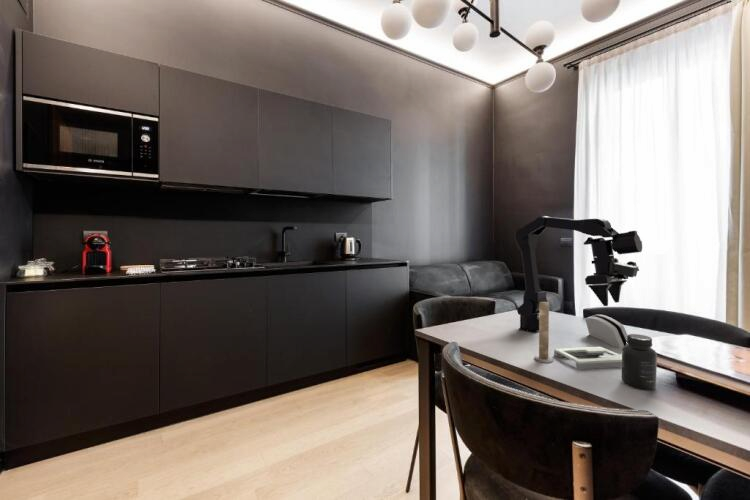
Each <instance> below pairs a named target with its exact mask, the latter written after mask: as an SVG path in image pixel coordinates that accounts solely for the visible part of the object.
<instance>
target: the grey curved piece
mask: <svg viewBox="0 0 750 500" xmlns="http://www.w3.org/2000/svg"><path fill="white" fill-rule="evenodd" d="M585 323H586V327H587V331H588V335H589V336H591V337H594V338H596V339H598V340H600V341H602V342H605V343H607V344H608V345H611V346H613V347H616V348H618V349H620V350H622V348H623V347H624V346H625V345H626V342H627V336H628V335H629V334H628V333H627V329H625V327H624V325H623V324H622V323H621V322H620V321H618V320H616V319H614V318H612V317H609V316H607V315H604V314H594V315H591V316H588V317H586V318H585Z"/></svg>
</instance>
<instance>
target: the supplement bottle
mask: <svg viewBox="0 0 750 500" xmlns="http://www.w3.org/2000/svg"><path fill="white" fill-rule="evenodd" d="M627 335H628V336H627V343H628V345H625V346H624V347H623V348H622V349H621V355H622V367H621V376H620V377H621V382H622V383H623V384H624V385H625V386H627V387H630V388H632V389H636V390H641V391H652V390H655V389H656V388H657V373H658V372H657V371H658V370H657V367H658V363H657V362H658V354H657V352H656V350H655V349H653V339H652V337H651V336H649V335H644V334H638V333H637V334H636V333H630V334H627Z"/></svg>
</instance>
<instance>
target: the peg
mask: <svg viewBox="0 0 750 500" xmlns="http://www.w3.org/2000/svg"><path fill="white" fill-rule="evenodd" d="M549 319H550V303H549V301H548V302H540V303H539V331H538V332H539V333H538V354H536V355H534V358H533V359H534V360H535V361H536V362H539V363H543V364H549V363H553V362H554V358H553V356H552V357H551V356H549V346H550V345H549V341H550V339H549V335H550V334H549V332H550V329H549V328H550V320H549Z"/></svg>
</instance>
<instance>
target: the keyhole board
mask: <svg viewBox="0 0 750 500" xmlns="http://www.w3.org/2000/svg"><path fill="white" fill-rule="evenodd" d="M553 350H554V351H553V353H554V354H553V356H554V357H556V358H562V357H564V358H567V359H569V360H570V361H573V362H575V366H576V369H578V370H592V369H608V368H609V369H610V368H622V354H619V353H617V352H614V351H612V350H609V349H607V348H606V347H605V348H604V347H602V346H586V347H585V346H584V347H583V346H582V347H564V348H554V349H553ZM605 353H606V354H607V355H604V354H605ZM582 356H583V357H584V356H598V357H597V358H595V357H593V358H592V357H591V358H578V357H582Z"/></svg>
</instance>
